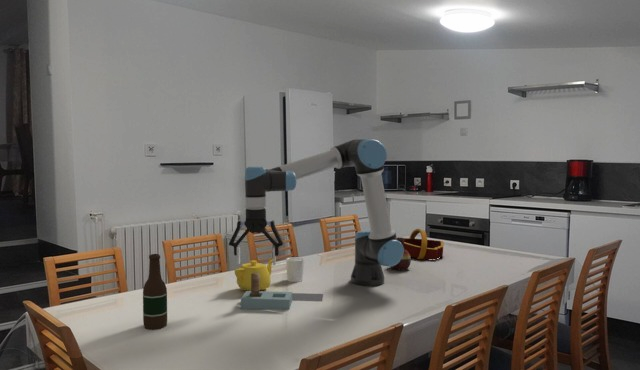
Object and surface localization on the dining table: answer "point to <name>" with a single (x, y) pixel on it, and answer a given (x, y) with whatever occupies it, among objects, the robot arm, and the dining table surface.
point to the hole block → (267, 300)
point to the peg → (255, 284)
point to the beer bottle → (154, 297)
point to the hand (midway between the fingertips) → (256, 264)
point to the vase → (403, 259)
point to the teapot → (253, 267)
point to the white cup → (295, 269)
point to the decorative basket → (423, 246)
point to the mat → (306, 297)
